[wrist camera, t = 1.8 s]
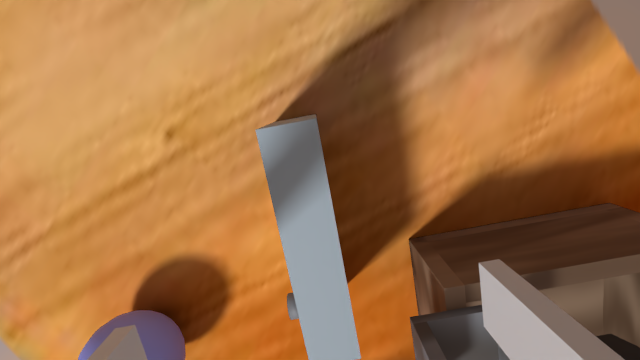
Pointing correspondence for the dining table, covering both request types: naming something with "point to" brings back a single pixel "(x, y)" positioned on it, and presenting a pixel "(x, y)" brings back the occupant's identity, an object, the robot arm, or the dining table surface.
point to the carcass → (528, 277)
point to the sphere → (144, 335)
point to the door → (309, 237)
